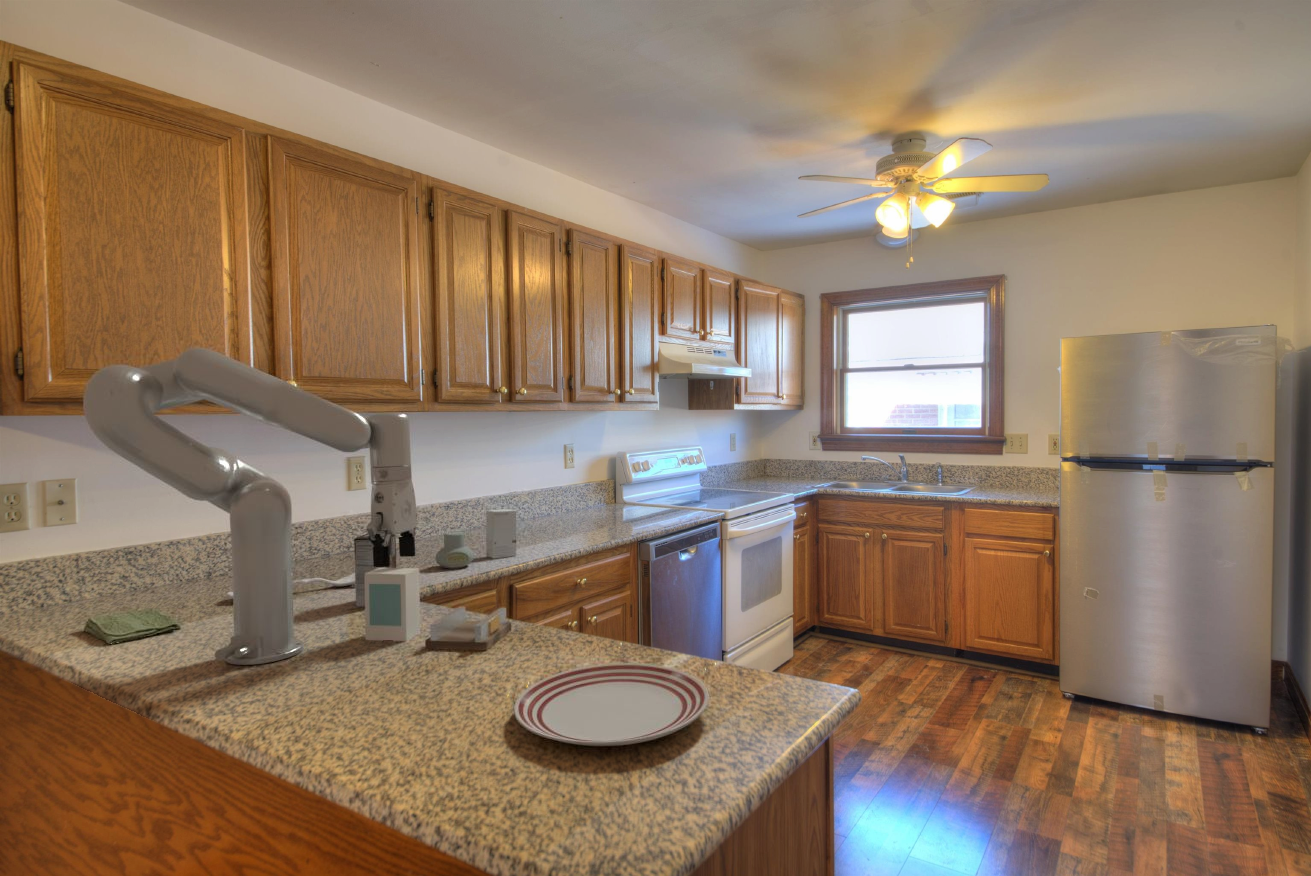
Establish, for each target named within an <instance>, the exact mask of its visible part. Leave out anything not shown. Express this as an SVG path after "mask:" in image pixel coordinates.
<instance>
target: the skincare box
mask: <svg viewBox="0 0 1311 876" xmlns="http://www.w3.org/2000/svg"><path fill="white" fill-rule="evenodd" d="M485 514H486V515H485V516H486V517H485V518H486V519H485V521H486V524H485V527H486V528H485V529H486V530H485V533H486V535H485V536H486V537H485V538H486V539H485V542H486V543H485V544H486V545H485V547H486V549H485V556H486V557H488V558H490V559H492V560H495V559H502V557H504V558H511V557H516V556H517V510H516V509H509V508H508V509H507V508H506V509H490V510H489V509H488V510H485Z"/></svg>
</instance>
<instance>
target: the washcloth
mask: <svg viewBox="0 0 1311 876" xmlns="http://www.w3.org/2000/svg"><path fill="white" fill-rule="evenodd" d="M181 629H182V627H181V624H180V621H179V620H177V619H176V617H174V616H171V615H169V614H166V613H164V612H161V610H157V609H154V608H150V609H142V610H137V611H135V610H134V611H127V612H126V613H119V614H117V613H116V614H113V615H112V614H107V615H104V616H103V615H102V616H95V617H90V618H88V619H87V621H86V622H85V624H84V627H83V631H85V632H86V633H88V634H90V635H91V636H93V637H95V636H96V637H95V638H97V637H98V638H97V639H99V640H103V642H106V643H107V644H109V645H112V644H113V643H117V642H121V641H126V642H128V641H127V640H130V641H133V640H132V639H134V640H139V639H138V638H140V639H143V637H144V638H147V637H146V636H148V637H152V636H155V635H158V634H157V633H161V634H164V632H165V633H170V632H174V631H173V630H175V631H180V630H181ZM169 631H170V632H169ZM154 634H155V635H154ZM110 643H112V644H110ZM121 643H122V642H121ZM117 644H118V643H117ZM113 645H114V644H113Z"/></svg>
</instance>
